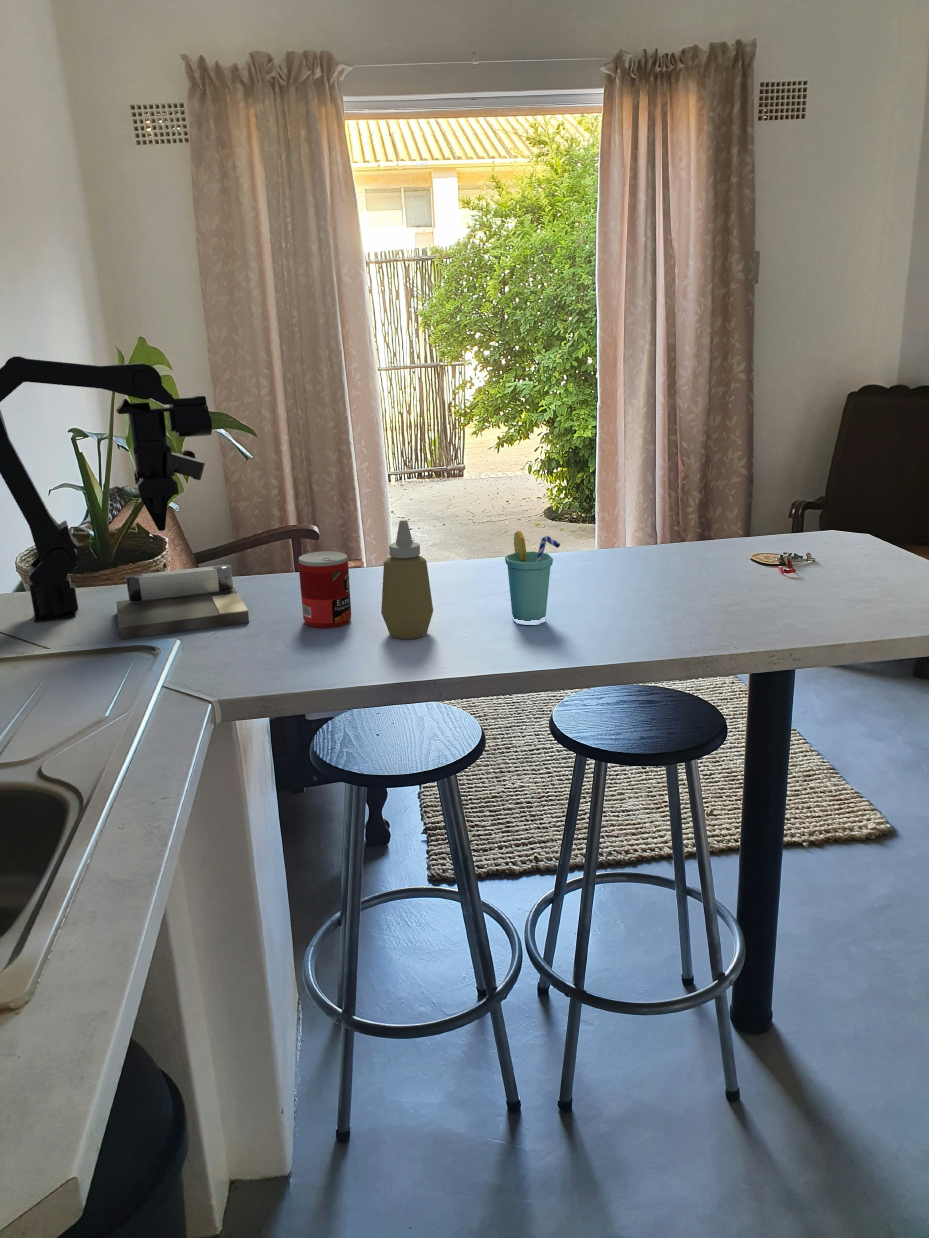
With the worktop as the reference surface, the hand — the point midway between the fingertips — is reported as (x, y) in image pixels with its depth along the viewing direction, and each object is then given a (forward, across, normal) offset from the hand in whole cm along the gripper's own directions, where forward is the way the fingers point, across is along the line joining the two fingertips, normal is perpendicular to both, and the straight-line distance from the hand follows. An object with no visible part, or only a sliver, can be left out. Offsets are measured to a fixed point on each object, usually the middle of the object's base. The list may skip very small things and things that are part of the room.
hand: (161, 529), depth 157 cm
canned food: (+13, -25, -23) cm, 36 cm away
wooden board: (+13, -12, -1) cm, 18 cm away
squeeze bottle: (+13, -37, -33) cm, 51 cm away
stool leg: (+10, -6, -2) cm, 12 cm away
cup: (+13, -40, -53) cm, 68 cm away
